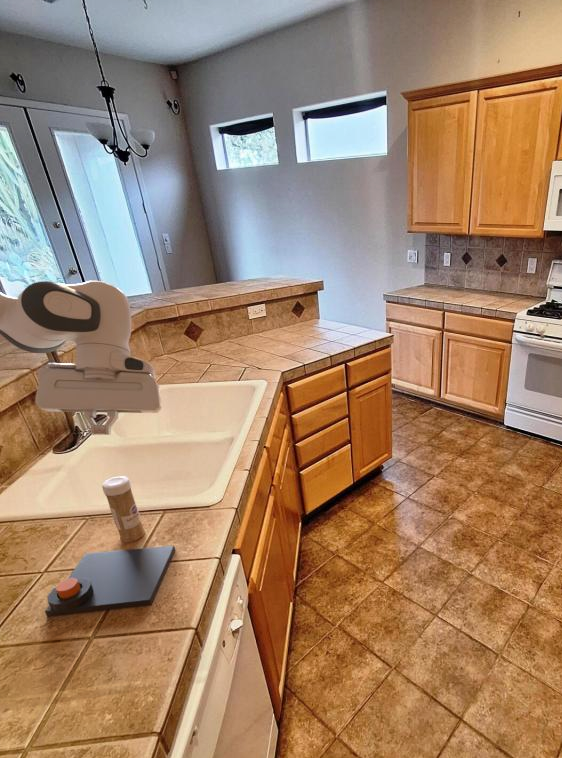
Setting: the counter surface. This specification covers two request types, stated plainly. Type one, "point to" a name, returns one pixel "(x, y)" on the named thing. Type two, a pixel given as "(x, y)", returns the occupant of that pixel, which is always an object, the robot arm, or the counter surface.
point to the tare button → (68, 588)
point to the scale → (114, 581)
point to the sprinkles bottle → (123, 508)
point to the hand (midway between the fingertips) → (100, 434)
